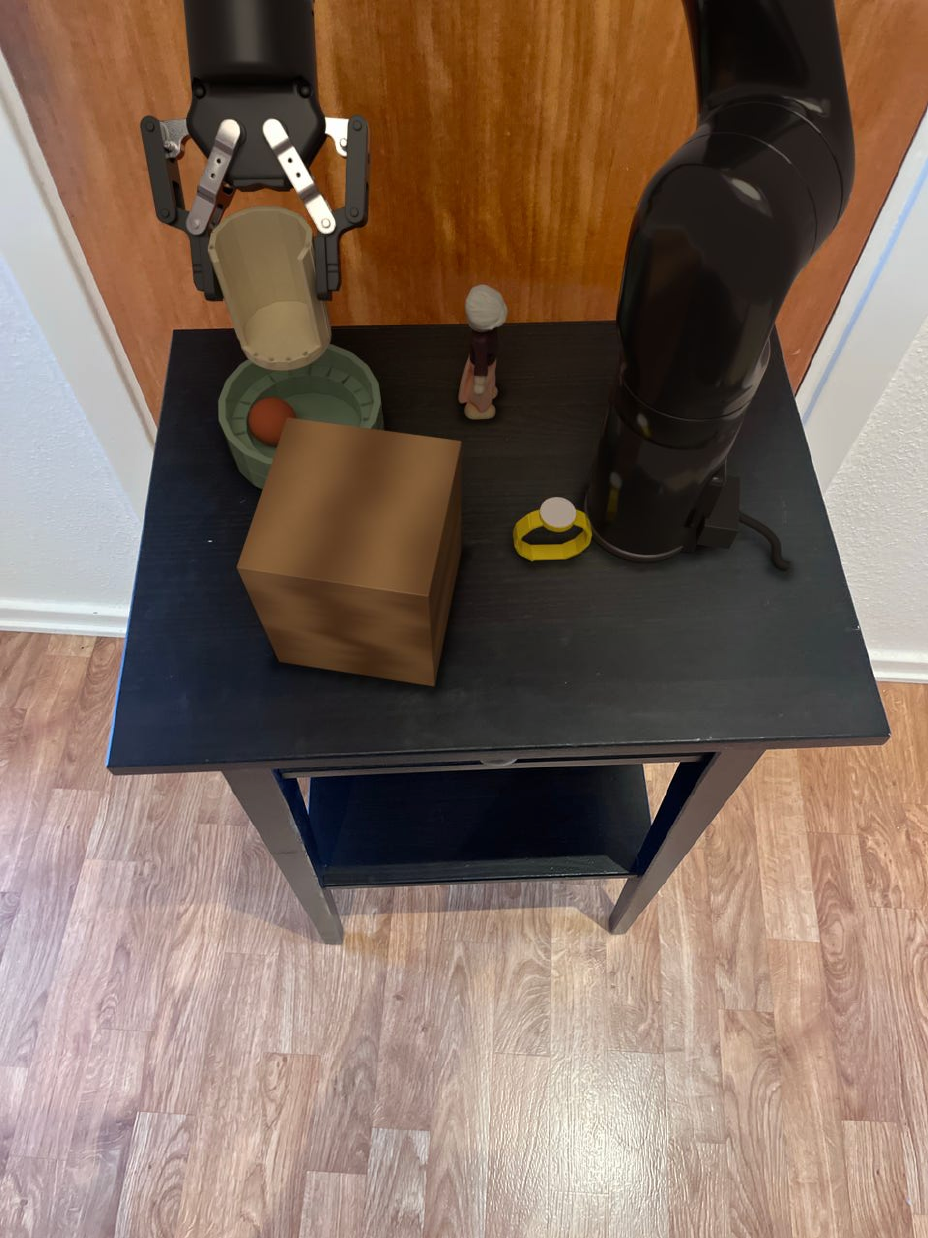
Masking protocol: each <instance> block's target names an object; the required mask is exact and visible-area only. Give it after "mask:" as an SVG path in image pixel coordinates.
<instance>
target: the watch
mask: <svg viewBox="0 0 928 1238" xmlns="http://www.w3.org/2000/svg"><path fill="white" fill-rule="evenodd" d="M573 526H576V527H578V528H582V531H581V532H580V533H579V534H578V535H577V536H575V538H572V539H570V540H568V541H566V542H563V543H559V544H558V543H557V544H556V543H555V544H529V543H528V542H526V541H523V540H522V539H523V537H524V536H526V535H527V534H528V533H530V532H531V531H532V530H535V529H537V528H541V527H544V528H545V529H546V530H548V531H551V532H555V533H563V532H566V531H568V530H570V529H571V528H572V527H573ZM512 537H513V545H514V548H515V550H516V553H517V554H518V555H519V556H520V557H522V558H525V559H526V560H529V561H531V562H534V561H554V560H555V561H556V560H568V559H571V558H573V557H575V556H577V555H579V554H581V553H582V552H583V551H584V550H585V549H586V548H587V547H589V546H590V544H591V541H592V538H593V537H592V531H591V526H590V520H589V519H588V518H587V516H586V515H585V513H584V512H583V511H581V510H578V509H577V508H576V507H575V505H574V504H573V503H572V502H571V501H570V500H568V499H566V498H564V497H558V496H555V497H550V498H547V499H546V500H545V501H544V502H542V504H541V506H540V508H539V509H536V510H533V511H530V512H529V513H527V514H526V515H524V516H523V517H522V518H520V519H519V520H518V521H517V522H516V523H515V526H514V527H513V530H512Z"/></svg>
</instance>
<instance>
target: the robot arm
mask: <svg viewBox="0 0 928 1238" xmlns="http://www.w3.org/2000/svg"><path fill="white" fill-rule="evenodd" d="M182 1H183V12H184V22H185V25H184V26H185V33H186V34H185V35H186V45H187V46H186V47H187V58H188V67H189V68H188V69H189V81H190V89H191V102H190V105H189V109H188V111H187V114H186V116H185V117H183V118H182V117H181V118H173V119H164V120H160V119H158V118H157V117H155V116H154V115H151V114H149V115H145V116H144V117H142V119H141V120H140V123H139V128H140V133H141V134H140V135H141V139H142V144H143V151H144V157H145V162H146V167H147V172H148V173H147V174H148V178H149V183H150V189H151V194H152V200H153V205H154V210H155V211H154V212H155V216H156V218H157V220H158V221H159V222H161V223H162V224H164V225H166V226H169V227H172V228H174V229H175V230H176V229H177V230H180V231H182V232H183V233H185V235H186V236H187V238H188V240H189V248H190V257H191V258H190V259H191V268H192V278H193V279H192V281H193V284H194V286H195V288H196V290H197V291H198V292H203V296H204V299H205V301H207V302H224V301H225V300H224V297H223V294H222V291H221V288H220V285H219V282H218V279H217V276H216V273H215V270H214V267H213V264H212V261H211V258H210V255H209V253H208V245H209V241H210V236H211V233H212V231H213V230H214V229H215V228H216V227H217V226H218V225H219V224H220V223H221V222H222V220H223V216H224V215H225V212H226V210H228V209H229V207H230V205H231V204H232V201H233V199H234V197H235V194H236V192H237V190H238V191H240V192H241V193H255V192H258V191H261V190H265V189H266V190H270V191H273V192H277V193H290V192H291V190H292V189H294V190H295V193H296V194H297V196H298V197H299V199H300V200H301V202H302V203H303V205H304V207H305V208H306V210H307V213H308V214H309V215H310V217H311V219H312V221H313V222H314V225H315V226H316V231H317V232H316V235H314V254H315V272H316V290H317V298H318V300H319V301H327V302H332V301H333V292H340V291H341V287H342V283H343V281H342V280H343V279H342V258H341V240H342V238H343V236H344V235H345V234H346V233H349V232H351V231H353V230H355V229H363V228H364V227H366V226H367V224H368V222H369V210H370V208H369V207H370V188H371V187H370V185H371V184H370V183H371V162H372V161H371V160H372V159H371V158H372V157H371V156H372V137H373V136H372V131H371V128H370V125H369V123H368V121H367V120H366V118H365V117H364V116H363V115H361V114H359V113H358V114H352V115H351V116H350V117H349V118H344V117H343V118H342V117H331V116H326V115H325V114H324V112H323V110H322V108H321V104H320V97H319V83H318V81H319V80H318V79H319V78H318V63H317V61H318V60H317V42H316V41H317V39H316V23H315V22H316V21H315V4H316V0H182ZM680 1H681V5H682V9H683V14H684V19H685V23H686V28H687V33H688V34H687V35H688V41H689V47H690V53H691V63H692V69H693V77H694V88H695V101H696V125H695V131H694V132H693V133H692V134H691V135H690V136H689V137H688V138H687V139H686V140H685V141H684V142H683V144H681V146H680V147H679V148H678V149H677V150H676V151H675V152H674V153H672V155H670V157H669V158H668V159H667V160H666V161H664V163H663V164H662V165H661V166H660V167H659V168H658V169H657V171H655V173H653V175H652V176H651V178H650V179H649V180H648V182H647V184H646V185H645V187H644V188H643V191H642V193H641V194H640V197H639V198H638V201H637V204H636V207H635V209H634V213H633V216H632V220H631V224H630V228H629V232H628V236H627V242H626V248H625V253H624V260H623V266H622V272H621V279H620V283H619V284H620V285H619V291H618V296H617V297H618V298H617V304H616V310H615V311H616V312H615V330H616V336H617V339H618V344H619V352H618V356H617V360H616V364H615V369H614V374H613V377H612V383H611V387H610V391H609V396H608V400H607V405H606V410H605V414H604V418H603V423H602V427H601V431H600V435H599V440H598V445H597V448H596V454H595V457H594V460H593V463H592V466H591V468H590V472H589V475H588V477H587V478H588V479H587V483H586V485H588V487H587V490H586V494H585V496H584V497H585V498H584V502H583V509H582V510H583V511H582V512H583V513H585V515H586V516H587V518H588V519H589V520H590V526H591V531H592V537H591V538H593V539H594V541H595V542H596V543H597V544H598V545H599V546H601V547H602V549H604V550H605V551H607V552H608V553H610V554H611V555H614V556H616V557H618V558H620V559H623V560H627V561H631V562H635V563H656V562H661V561H665V560H667V559H670V558H673V557H674V556H677V555H678V554H680V553H687V554H688V553H689V554H693V553H695V550H696V548H697V546H698V545H699V546H706V547H713V548H720V549H725V550H730V549H731V546H732V545H733V542H734V541H735V539H736V537H737V535H738V533H739V532H740V523H741V524H743V525H745V526H747V527H749V528H751V529H753V530H754V531H756V532H757V533H759V534H761V535H762V536H763V537H764V538H765V539H766V540H767V541H768V542H769V544H770V547H771V559H772V561H773V563H774V564H775V566H776V567H777V568H779V569H781V570H785V571H788V570H789V568H790V566H791V563H792V562H791V561H789V560H785V559H784V558H783V556H782V543H781V541H780V538H779V537H778V535H777V534H776V533H775V532H774V531H773V530H772V529H771V528H769V527H768V526H767V525H766V524H764V523H763V522H761V521H759V520H757V519H755V518H753V517H751V516H749V515H748V514H746V513H744V512H743V511H741V510H740V501H741V499H740V498H741V477H740V476H733V475H727V460H728V459H727V458H728V456H729V453H730V451H731V450H732V447H733V446H734V442H735V440H736V438H737V436H738V434H739V431H740V429H741V427H742V424H743V422H744V419H745V417H746V415H747V413H748V410H749V409H750V406H751V403H752V402H753V399H754V398H755V396H756V393H757V390H758V389H759V386H760V383H761V381H762V380H763V377H764V374H765V373H766V370H767V368H768V365H769V361H770V357H771V341H770V336H771V333H772V331H773V328H774V326H775V323H776V321H777V319H778V316H779V314H780V312H781V309H782V307H783V305H784V303H785V301H786V298H787V297H788V295H789V292H790V291H791V289H792V286H793V285H794V283H795V282H796V280H797V279H798V278H799V277H800V276H801V274H802V272H804V270H805V268H806V267H808V265H809V264H810V262H811V261H812V260H813V258H814V257H815V256H816V254H817V253H818V252H819V251H820V250H821V248H822V247H823V246H824V244H825V243H826V242H827V240H828V239H829V238H830V236H831V235H832V233H833V232H834V231H835V229H836V228H837V227H838V225H839V223H840V221H841V220H842V218H843V215H844V214H845V211H846V210H847V207H848V205H849V202H850V199H851V195H852V192H853V189H854V183H855V176H856V143H855V134H854V127H853V119H852V118H853V117H852V112H851V106H850V105H851V104H850V98H849V97H850V96H849V92H848V86H847V78H846V72H845V64H844V58H843V51H842V45H841V44H842V43H841V39H840V31H839V25H838V17H837V11H836V3H835V0H680ZM328 138H330V139H331V140H332V141H334V144H335V145H334V146H335V150H336V152H337V153H338V155H339V157H341V158H342V159H344V160H345V184H344V185H345V187H344V189H345V191H344V206H341V207H339V208H336V209H334V210H333V209H332V207H331V205H330V204H329V202H328V199H327V197H326V196H325V194H324V192H323V190H322V189H321V186H320V185H319V183H318V181H317V179H316V178H315V175H314V174H313V172H312V170H311V169H310V168H311V166H312V165H313V163H314V161H315V159H316V158H317V156H318V154H319V152H320V151H321V149H322V148H323V146H324V144H325V142H326V141H327V139H328ZM190 140H192V141H193V142H194V143H195V145H196V146H197V148H198V149H199V151H200V152H201V153H202V154H203V156H204V158H205V159H206V160H207V161H206V163H205V166H204V167H203V171H202V173H201V176H200V178H199V181H198V183H197V186H196V195H195V197H194V200H193V202H192V205H191V208H190V209H189V210H187V209H186V203H185V198H184V191H183V185H182V179H181V174H180V169H179V163H178V161H180V160H182V159H183V157H185V155H186V144H187V143H188V141H190ZM588 482H589V484H588Z"/></svg>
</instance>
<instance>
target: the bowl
mask: <svg viewBox="0 0 928 1238" xmlns="http://www.w3.org/2000/svg"><path fill="white" fill-rule="evenodd" d="M269 397H275V398H279V399H282V400H284V401H285V402H287V403H288V404H289V405H290V406H291V407H292V408H293V410H294V412H295V414H296V417H297V419H302V420H310V421H317V422H324V423H332V424H339V425H346V426H353V427H361V428H368V429H375V430H383V431H385V423H384V415H383V414H384V413H383V406H382V399H381V391H380V384H379V382H378V380H377V378H376V377H375V375H374V373H373V371H372V370H371V368H370V367H369V365H368V363H365V361H364V360H362V359H360V358H359V357H358V355H356V354H355V353H353V352H351V351H349V350H347V349H345V348H341V347H339V346H337V345H335V344H331V343H330V344H329V346H328V348H327V349H326V351H325V352H324V353H323V354H322V355H321V356H320V357H319V358H318V359H317V360H315V361H314V362H312V363H310V364H308V365H306V366H304V367H301V368H298V369H293V370H286V371H276V370H270V369H266V368H263V367H260V366H258V365H256V364H255V363H253V362H252V361H251V360H249V359H248V358H247V359H246V360H245V361H243V362H241V363H240V364H239V365H238V366H237V368H236V369H235V370H234V371H233V372H232V373H231V374H230V375H229V377H228V378H227V379H226V380H225V382H224V384H223V387H222V390H221V392H220V395H219V397H218V403H217V404H218V406H217V407H218V408H217V409H218V422H219V426H220V428H221V431H222V433H223V435H224V438H225V441H226V444H227V446H228V449H229V452H230V454H231V456H232V459H233V461H234V463H235V465H236V467H237V470H238V471H239V473H241V475H242V476H244V477H245V478H246V479H247V480H248V482H250V483H251V485H253V486H254V487H256V488H259V489H260V490H263V488H264V485H265V482H266V479H267V476H268V473H269V470H270V467H271V464H272V461H273V458H274V455H275V452H276V449H277V446H270V445H266V444H263V443H262V442H260V441H259V440H257V439H256V438H255V437H254V435H253V434H252V432H251V430H250V427H249V414H250V411H251V409H252V407H253V406H254V405H255V404H256V403H257V402H258V401H260V400H262V399H264V398H269Z"/></svg>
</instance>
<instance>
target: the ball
mask: <svg viewBox="0 0 928 1238" xmlns="http://www.w3.org/2000/svg"><path fill="white" fill-rule="evenodd" d="M287 418H295V419H297V417H296V414H295V412H294V410H293V408H292V407H291V406H290V405H289V404H288V403H287V402H285V401H284V400H282V399H279V398H275V397H269V398H264V399H262V400H260V401H258V402H257V403H256V404H255V405H254V406H253V407H252V409H251V411H250V414H249V427H250V430H251V432H252V434H253V435H254V437H255V438H256V439H257V440H259V441H260V442H262V443H263V444H266V445H270V446H278V443H279V440H280V437H281V434H282V431H283V428H284V425H285V422H286V420H287Z"/></svg>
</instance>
